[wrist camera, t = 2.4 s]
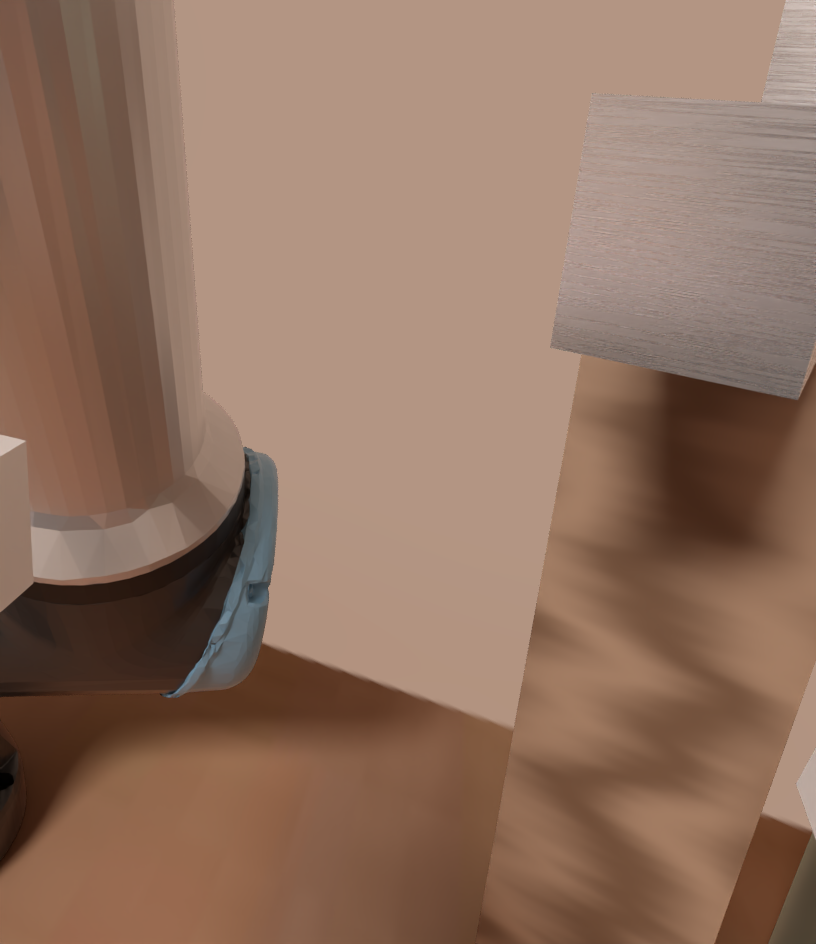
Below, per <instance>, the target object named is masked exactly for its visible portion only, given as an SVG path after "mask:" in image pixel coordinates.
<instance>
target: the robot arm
mask: <svg viewBox="0 0 816 944" xmlns="http://www.w3.org/2000/svg"><path fill="white" fill-rule="evenodd" d="M194 279H195V278H194V265H193V252H192V238H191V225H190V212H189V198H188V184H187V171H186V159H185V144H184V131H183V118H182V106H181V92H180V79H179V65H178V51H177V39H176V24H175V11H174V0H0V697H13V696H60V695H108V694H155V693H159V694H160V695H162V696H164V697H168V698H176V697H179V696H181V695H184V694H185V693H188V692H200V691H213V690H225V689H228V688H231V687H234V686H236V685H237V684H239V683H241V682H242V681H243V680H244V679H245V678H246V677H247V676H248V675H249V674H250V672H251V671H252V669H253V667H254V665H255V663H256V660H257V658H258V654H259V651H260V647H261V643H262V638H263V633H264V628H265V623H266V617H267V610H268V601H269V591H268V587H269V585H270V582H271V574H272V570H273V565H274V555H275V545H276V532H277V515H278V477H277V469H276V466H275V463H274V461H273V460H272V459H271V458H270V457H269V456H267V455H266V454H263V453H258V452H254V451H253V450H251V449H249V448H247V447H244V448H243V446H242V442H241V439H240V435H239V432H238V429H237V427H236V425H235V424H234V422H233V420H232V419H231V417H230V416H229V415H228V413H227V412H226V411H225V410H224V409H223V408H222V406H220V405H219V404H218V403H217V402H216V401H215V400H214V399H213V398H212V397H210V396H209V395H207V394H206V393H205V392H203V385H202V371H201V358H200V346H199V332H198V318H197V305H196V292H195V280H194ZM796 786H797V788H798V791H799V794H800V797H801V800H802V803H803V805H804V808H805V811H806V814H807V817H808V820H809V822H810V825H811V828H812V831H813V834H814V837H815V840H816V748H815V750H814V752H813V754H812V756H811V757H810V759H809V761H808V763H807V765H806V766H805V768H804V770H803V772H802V774H801V775H800V777H799V779H798V781H797V783H796ZM25 807H26V785H25V778H24V771H23V764H22V759H21V755H20V752H19V750H18V747H17V745H16V743H15V741H14V739H13V738H12V736H11V735H10V733H9V732H8V730H7V729H6V728H5V726H4V725H3V723H2V722H1V720H0V860H1V859H2V858H3V856H4V855H5V854H6V852H7V850H8V849H9V847H10V846H11V844H12V842H13V840H14V839H15V837H16V835H17V833H18V830H19V828H20V826H21V823H22V820H23V816H24V812H25Z"/></svg>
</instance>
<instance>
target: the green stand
mask: <svg viewBox="0 0 816 944" xmlns="http://www.w3.org/2000/svg"><path fill="white" fill-rule="evenodd" d="M768 944H816V840H815V837H814V834H813V832H812V835H811V837H810V840H809V842H808V845H807V847H806V850H805V852H804V855H803V857H802V860H801V862H800V865H799V867H798V870H797V872H796V875H795V877H794V880H793V882H792V885H791V888H790V890H789V893H788V895H787V898H786V900H785V903H784V905H783V908H782V910H781V913H780V915H779V918H778V920H777V923H776V925H775V928H774V930H773V933H772V935H771V938H770V940H769V943H768Z"/></svg>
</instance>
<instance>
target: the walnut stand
mask: <svg viewBox="0 0 816 944" xmlns="http://www.w3.org/2000/svg"><path fill="white" fill-rule="evenodd" d="M815 661H816V363H815V365H814V367H813V370H812V372H811V374H810V376H809V378H808V380H807V382H806V384H805V386H804V388H803V390H802V392H801V395H800V397H799V399H798V400H794V399H789V398H785V397H780V396H775V395H771V394H766V393H761V392H756V391H752V390H747V389H742V388H738V387H733V386H728V385H724V384H719V383H714V382H710V381H705V380H700V379H695V378H691V377H686V376H681V375H677V374H672V373H667V372H663V371H658V370H653V369H648V368H644V367H639V366H634V365H630V364H625V363H620V362H616V361H611V360H606V359H601V358H597V357H592V356H587V355H583V354H582V355H581V360H580V367H579V371H578V377H577V383H576V388H575V394H574V399H573V405H572V411H571V416H570V421H569V427H568V433H567V438H566V443H565V449H564V454H563V461H562V466H561V471H560V477H559V482H558V488H557V493H556V499H555V504H554V510H553V515H552V521H551V526H550V532H549V538H548V543H547V549H546V554H545V560H544V565H543V571H542V577H541V582H540V587H539V593H538V599H537V604H536V610H535V615H534V621H533V626H532V632H531V638H530V643H529V648H528V654H527V659H526V665H525V670H524V676H523V682H522V687H521V693H520V698H519V704H518V709H517V715H516V721H515V726H514V731H513V737H512V742H511V748H510V753H509V759H508V765H507V770H506V776H505V781H504V787H503V792H502V798H501V803H500V809H499V814H498V820H497V825H496V831H495V837H494V842H493V848H492V853H491V859H490V864H489V870H488V875H487V881H486V886H485V892H484V897H483V903H482V908H481V914H480V920H479V925H478V931H477V936H476V942H475V944H714V943H715V940H716V938H717V935H718V932H719V929H720V926H721V924H722V921H723V918H724V915H725V912H726V910H727V907H728V904H729V901H730V898H731V896H732V893H733V890H734V887H735V885H736V882H737V879H738V876H739V873H740V871H741V868H742V865H743V862H744V859H745V857H746V854H747V851H748V848H749V845H750V843H751V840H752V837H753V834H754V831H755V829H756V826H757V823H758V820H759V818H760V815H761V812H762V809H763V806H764V804H765V801H766V798H767V795H768V792H769V790H770V787H771V784H772V781H773V778H774V775H775V773H776V770H777V767H778V764H779V762H780V759H781V756H782V753H783V751H784V748H785V745H786V742H787V739H788V736H789V733H790V731H791V728H792V725H793V722H794V720H795V717H796V714H797V711H798V708H799V706H800V703H801V700H802V698H803V695H804V692H805V689H806V686H807V683H808V681H809V678H810V675H811V672H812V669H813V667H814V664H815Z"/></svg>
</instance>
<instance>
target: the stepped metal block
mask: <svg viewBox="0 0 816 944" xmlns="http://www.w3.org/2000/svg"><path fill="white" fill-rule="evenodd" d="M550 347H551V348H555V349H559V350H564V351H569V352H573V353H578V354H583V355H587V356H592V357H597V358H601V359H606V360H611V361H616V362H620V363H625V364H630V365H634V366H639V367H644V368H648V369H653V370H658V371H663V372H667V373H672V374H677V375H681V376H686V377H691V378H695V379H700V380H705V381H710V382H714V383H719V384H724V385H728V386H733V387H738V388H742V389H747V390H752V391H756V392H761V393H766V394H771V395H775V396H780V397H785V398H789V399H794V400H798V399H799V397H800V395H801V392H802V390H803V388H804V386H805V384H806V382H807V380H808V378H809V376H810V374H811V372H812V370H813V367H814V365H815V363H816V0H786V2H785V7H784V10H783V15H782V19H781V23H780V27H779V31H778V35H777V40H776V43H775V48H774V52H773V56H772V60H771V64H770V68H769V72H768V77H767V81H766V85H765V89H764V93H763V97H762V101H761V103H759V102H741V101H723V100H704V99H687V98H668V97H667V98H666V97H650V96H632V95H614V94H613V95H612V94H596V93H592V96H591V102H590V108H589V114H588V120H587V127H586V132H585V139H584V144H583V151H582V157H581V163H580V169H579V175H578V181H577V187H576V194H575V199H574V206H573V212H572V218H571V224H570V230H569V237H568V242H567V248H566V254H565V261H564V267H563V273H562V279H561V285H560V291H559V298H558V303H557V310H556V316H555V321H554V328H553V334H552V340H551V346H550Z"/></svg>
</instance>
